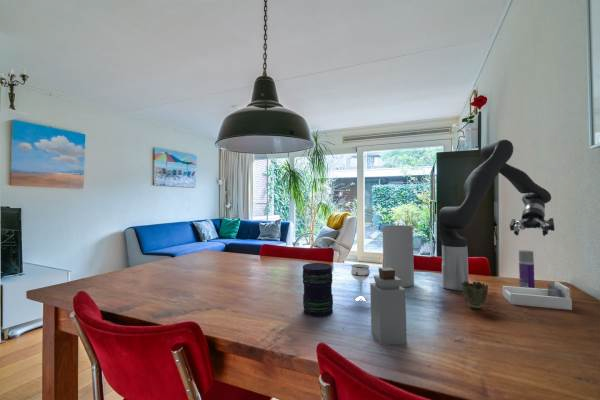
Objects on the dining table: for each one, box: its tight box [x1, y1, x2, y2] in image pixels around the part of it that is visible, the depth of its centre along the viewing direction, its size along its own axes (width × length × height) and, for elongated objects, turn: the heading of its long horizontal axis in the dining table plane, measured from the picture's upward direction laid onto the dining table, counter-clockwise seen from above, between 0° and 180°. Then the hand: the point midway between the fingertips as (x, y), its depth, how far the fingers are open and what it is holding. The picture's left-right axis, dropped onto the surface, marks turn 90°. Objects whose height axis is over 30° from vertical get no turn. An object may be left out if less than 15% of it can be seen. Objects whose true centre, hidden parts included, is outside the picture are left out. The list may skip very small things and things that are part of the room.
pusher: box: [547, 283, 562, 297], centre depth 95 cm, size 1×7×5 cm, turn 158°
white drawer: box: [502, 281, 573, 311], centre depth 97 cm, size 16×10×6 cm, turn 68°
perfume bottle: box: [369, 267, 408, 346], centre depth 73 cm, size 7×7×18 cm
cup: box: [462, 281, 489, 310], centre depth 93 cm, size 8×7×8 cm
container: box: [518, 249, 536, 288], centre depth 112 cm, size 5×5×15 cm
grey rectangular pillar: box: [381, 224, 415, 288], centre depth 123 cm, size 12×12×25 cm
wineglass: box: [350, 263, 371, 302], centre depth 104 cm, size 7×7×12 cm
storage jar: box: [302, 262, 334, 318], centre depth 92 cm, size 10×10×15 cm
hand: (530, 233), depth 113 cm, fingers open, 8 cm apart
